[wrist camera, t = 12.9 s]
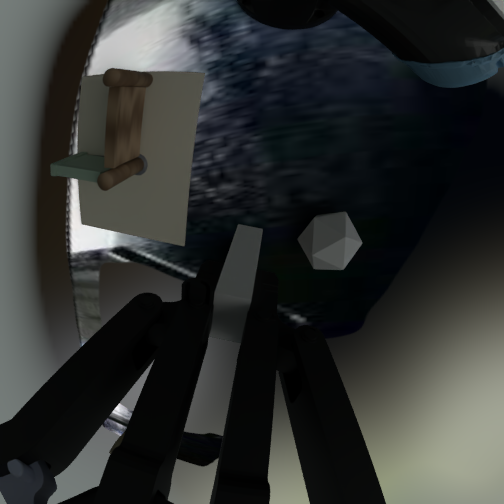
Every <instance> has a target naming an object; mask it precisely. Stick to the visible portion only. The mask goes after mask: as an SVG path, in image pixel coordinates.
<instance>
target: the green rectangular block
mask: <svg viewBox="0 0 504 504" xmlns="http://www.w3.org/2000/svg"><path fill="white" fill-rule="evenodd" d="M110 169H112V168H104V157H101V156H94V155H87V152H80V153H77V154H75V155H72V156H70V157H67V158H65V159H62V160H60V161H57V162H55V163H52V164H51V176H64V177H69V178H74V179H80V180H85V181H90V182H96V183H97V179H98V176H99V175H100V174H102V173H104V172H106V171H108V170H110Z"/></svg>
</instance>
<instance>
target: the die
mask: <svg viewBox="0 0 504 504" xmlns="http://www.w3.org/2000/svg"><path fill="white" fill-rule="evenodd" d="M297 240H298V242H299V243H300V245H301V247H302V249H303V250H304V252H305V254H306V256H307V257H308V259H309V261H310V263H311V265H312V266H313V268H314V269H330V270H344V268H345V267H346V265H347V264H348V263H349V261H350V260H351V258H352V257H353V256H354V254H355V253H356V251H357V250H358V248H359V247H360V246H361V244H362V241H361V239H360V237H359V235H358V233H357V232H356V230H355V228H354V226H353V224H352V222H351V221H350V219H349V217H348V215H347V213H346V212H339V213H330V214H321V215H316V216H315V217H314V219H313V220H312V221H311V222H310V224H309V225H308V226H307V227H306V229H305V230H304V231H303V233H302V234H301V235H300V236H299V238H298V239H297Z"/></svg>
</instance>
